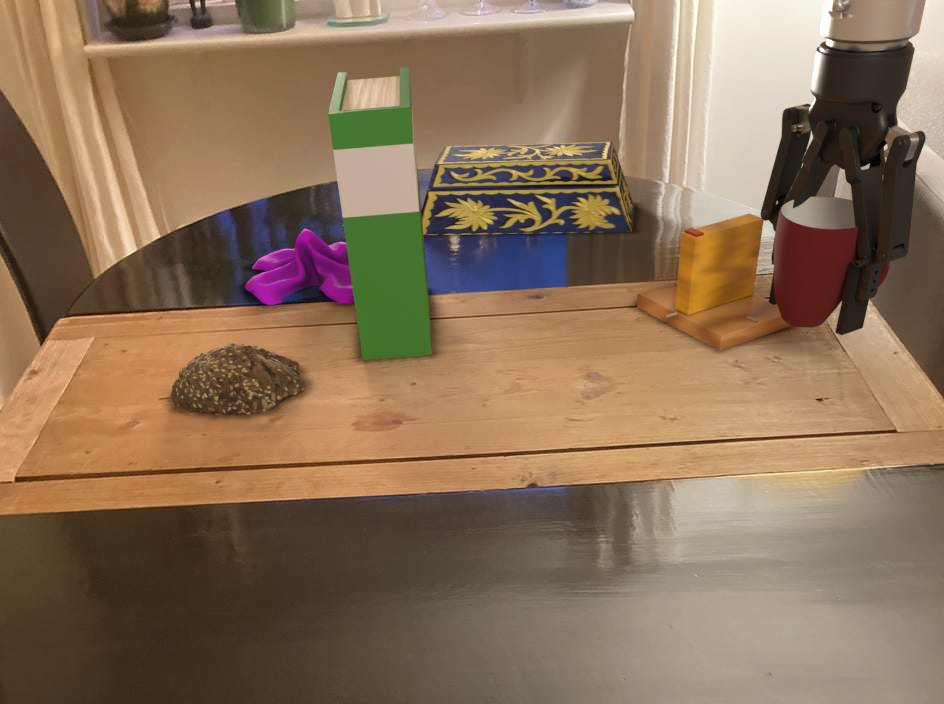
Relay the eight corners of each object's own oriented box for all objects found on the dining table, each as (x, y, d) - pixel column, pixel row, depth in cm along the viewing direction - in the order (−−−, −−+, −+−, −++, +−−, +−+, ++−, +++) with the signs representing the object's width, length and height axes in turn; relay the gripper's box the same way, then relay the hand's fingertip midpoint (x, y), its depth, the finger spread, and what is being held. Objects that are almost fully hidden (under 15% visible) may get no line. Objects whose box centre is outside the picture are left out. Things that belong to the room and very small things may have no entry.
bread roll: (157, 409, 97) (143, 363, 93) (230, 358, 105) (220, 314, 102) (260, 430, 92) (250, 383, 89) (328, 375, 100) (321, 329, 97)
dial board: (803, 325, 102) (807, 306, 101) (707, 358, 98) (709, 338, 96) (716, 286, 112) (718, 267, 110) (624, 314, 107) (625, 295, 106)
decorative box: (425, 212, 138) (419, 145, 132) (635, 208, 134) (639, 138, 128) (412, 238, 130) (406, 167, 124) (635, 235, 126) (639, 161, 120)
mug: (860, 299, 95) (888, 194, 88) (883, 337, 89) (914, 228, 82) (753, 301, 95) (771, 197, 88) (768, 339, 89) (789, 230, 82)
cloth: (389, 305, 113) (383, 253, 109) (234, 317, 113) (222, 264, 109) (393, 240, 130) (388, 193, 126) (258, 250, 130) (248, 203, 126)
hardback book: (367, 299, 115) (337, 72, 99) (428, 294, 115) (408, 66, 99) (363, 363, 102) (328, 113, 86) (432, 358, 102) (409, 107, 86)
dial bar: (739, 288, 106) (749, 210, 100) (753, 294, 104) (764, 216, 99) (674, 308, 103) (681, 229, 97) (687, 315, 101) (695, 235, 96)
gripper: (741, 31, 83) (711, 290, 98) (941, 67, 69) (870, 364, 84) (806, 18, 85) (767, 273, 100) (1011, 51, 71) (930, 342, 86)
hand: (814, 314), depth 92 cm, fingers closed on mug, 8 cm apart
